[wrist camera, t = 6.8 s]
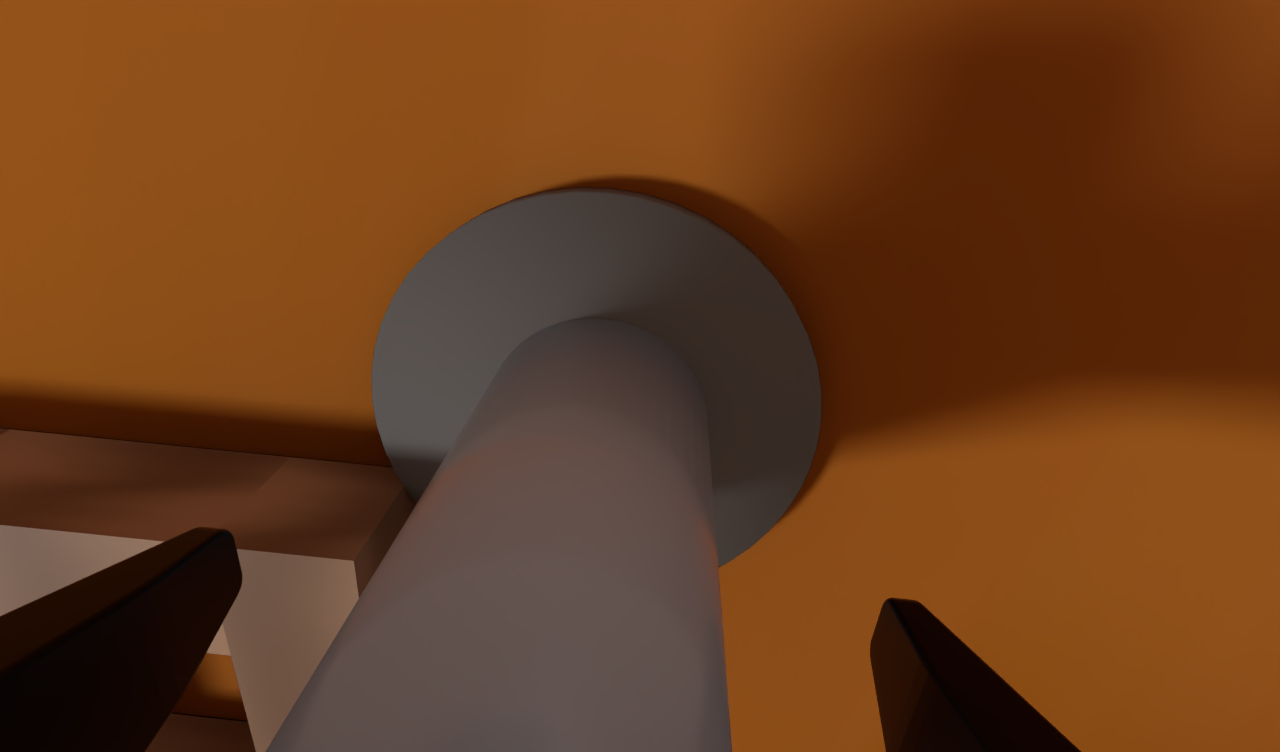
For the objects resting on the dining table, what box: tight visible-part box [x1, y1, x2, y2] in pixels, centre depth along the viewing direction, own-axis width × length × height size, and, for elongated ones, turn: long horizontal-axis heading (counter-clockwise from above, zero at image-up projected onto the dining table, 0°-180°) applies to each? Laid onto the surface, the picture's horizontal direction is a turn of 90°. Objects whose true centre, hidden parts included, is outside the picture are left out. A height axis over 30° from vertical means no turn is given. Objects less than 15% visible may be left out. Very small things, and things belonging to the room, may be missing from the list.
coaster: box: [371, 187, 821, 567], centre depth 13 cm, size 9×9×1 cm
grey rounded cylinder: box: [266, 318, 732, 752], centre depth 9 cm, size 4×4×9 cm
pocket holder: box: [0, 428, 417, 752], centre depth 16 cm, size 12×12×3 cm
